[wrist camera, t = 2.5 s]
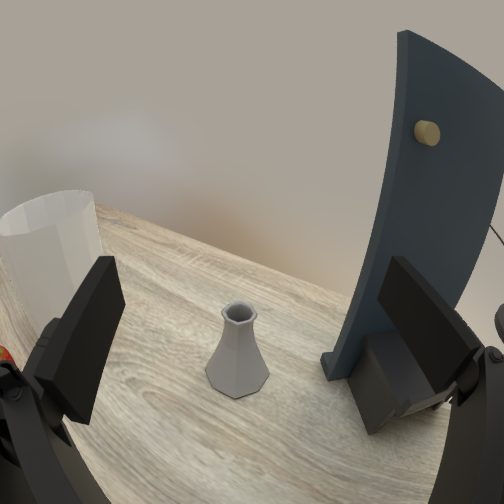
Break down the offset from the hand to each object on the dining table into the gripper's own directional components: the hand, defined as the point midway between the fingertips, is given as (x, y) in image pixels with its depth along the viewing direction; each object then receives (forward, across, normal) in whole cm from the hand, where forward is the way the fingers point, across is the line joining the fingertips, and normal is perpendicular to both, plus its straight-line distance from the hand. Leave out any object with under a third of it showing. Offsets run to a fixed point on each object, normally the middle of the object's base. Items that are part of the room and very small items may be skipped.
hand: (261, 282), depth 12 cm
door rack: (+3, +19, -20) cm, 28 cm away
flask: (+9, 0, -20) cm, 22 cm away
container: (+17, -24, -20) cm, 36 cm away
